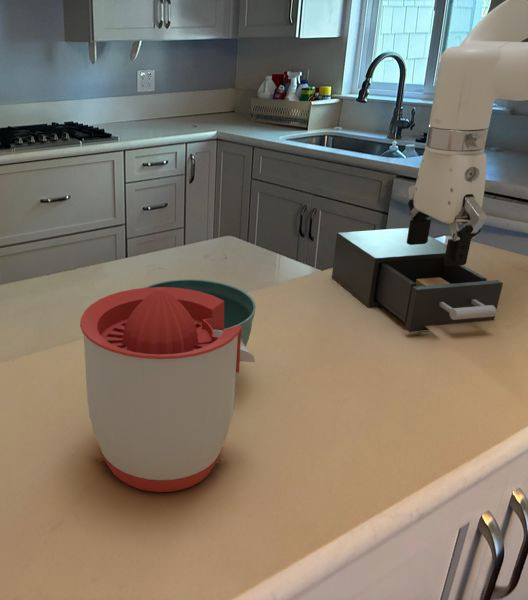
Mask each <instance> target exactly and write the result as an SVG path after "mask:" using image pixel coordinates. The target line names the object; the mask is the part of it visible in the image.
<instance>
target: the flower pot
mask: <svg viewBox="0 0 528 600" xmlns="http://www.w3.org/2000/svg"><path fill="white" fill-rule="evenodd" d="M149 287H172V288H182V289H190V290H195V291H200V292H203V293H207V294H210V295H213V296H215V297H217V298H219V299H221V300H223V301H224V329H227V328H231V327H235V326H238V325H241V339H242V341H243V343H244V345H245V347H246V348H247V345H248V343H249V340H250V336H251V332H252V328H253V327H252V326H253V321H254V317H255V313H256V309H257V304H256V302H255V300H254V299H253V297H252V296H251V295H250V294H248V293H247V292H245V291H244V290H243V289H241V288H239V287H236V286H233V285H231V284H227V283H223V282H220V281H213V280H209V279H208V280H207V279H197V278H195V279H193V278H192V279H191V278H188V279H185V278H183V279H172V280H171V279H170V280H164V281H160V282H155V283H152V284H149V285H146V286H144V287H143V288H149Z"/></svg>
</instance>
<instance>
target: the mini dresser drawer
mask: <svg viewBox="0 0 528 600" xmlns="http://www.w3.org/2000/svg"><path fill="white" fill-rule="evenodd" d="M439 277H440V278H442V279H444V280H445V281H447V282H449V283H450V284H442V285H429V286H417V287H416V279H426V278H439ZM503 285H504V283H503V282H502V281H501V280H498V279H495V280H488V278H487V277H485V276H484V275H482V274H480V273H478V272H476V271H474V270H473V269H471V268H469V267H467V266H465V265H458V266H446V265H444V258H434V259H420V260H407V261H393V262H380V263H379V267H378V273H377V280H376V287H375V293H374V299H376V300H377V301H378V302H379V303H381V304H382V305H383V306H382V307H385V309H387V310H388V311H389V312H390V313H392V315H394V316H396V317H397V318H398V319H399V320H401V321H402V322H403V323H404V324H405V325H404V326H405V328H404V330H406V331H407V332H409V333H414V332H427V331H430V329H429V328H428V327H432V326H443V325H445V326H446V325H455V324H456V325H457V324H467V323H477V322H478V323H480V322H489V321H495V318H496V314H497V309H498V306H499V302H500V297H501V293H502V289H503Z"/></svg>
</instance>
